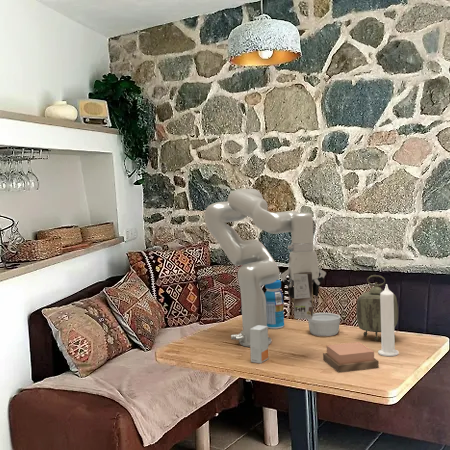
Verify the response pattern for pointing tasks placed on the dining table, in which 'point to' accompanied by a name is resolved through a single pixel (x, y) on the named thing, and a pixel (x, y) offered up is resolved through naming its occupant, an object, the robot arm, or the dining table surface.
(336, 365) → the tower base block
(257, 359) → the skincare box
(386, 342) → the candle
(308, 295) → the coffee box
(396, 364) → the dining table surface
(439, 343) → the dining table surface
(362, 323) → the tabletop clock
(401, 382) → the dining table surface
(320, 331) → the ramekin
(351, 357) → the tower top block
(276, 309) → the beverage bottle
